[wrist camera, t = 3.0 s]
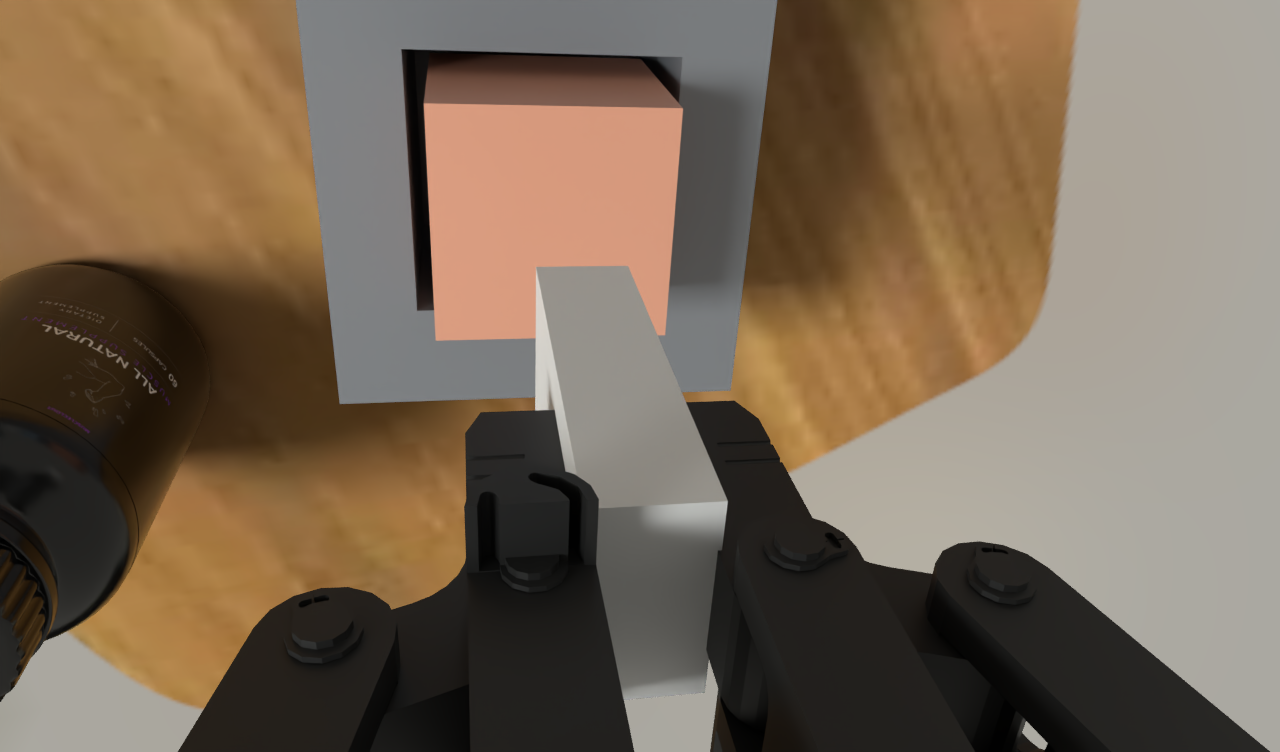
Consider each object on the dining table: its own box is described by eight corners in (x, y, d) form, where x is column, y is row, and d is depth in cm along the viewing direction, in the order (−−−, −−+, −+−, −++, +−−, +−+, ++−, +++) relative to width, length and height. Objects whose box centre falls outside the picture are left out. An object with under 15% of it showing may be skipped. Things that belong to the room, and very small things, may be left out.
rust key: (429, 52, 22) (423, 103, 18) (640, 58, 23) (683, 108, 19) (438, 253, 25) (435, 340, 20) (629, 252, 25) (665, 335, 21)
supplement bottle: (208, 265, 28) (65, 513, 18) (220, 459, 31) (103, 766, 21) (-57, 244, 26) (-386, 504, 16) (-17, 451, 29) (-271, 778, 19)
